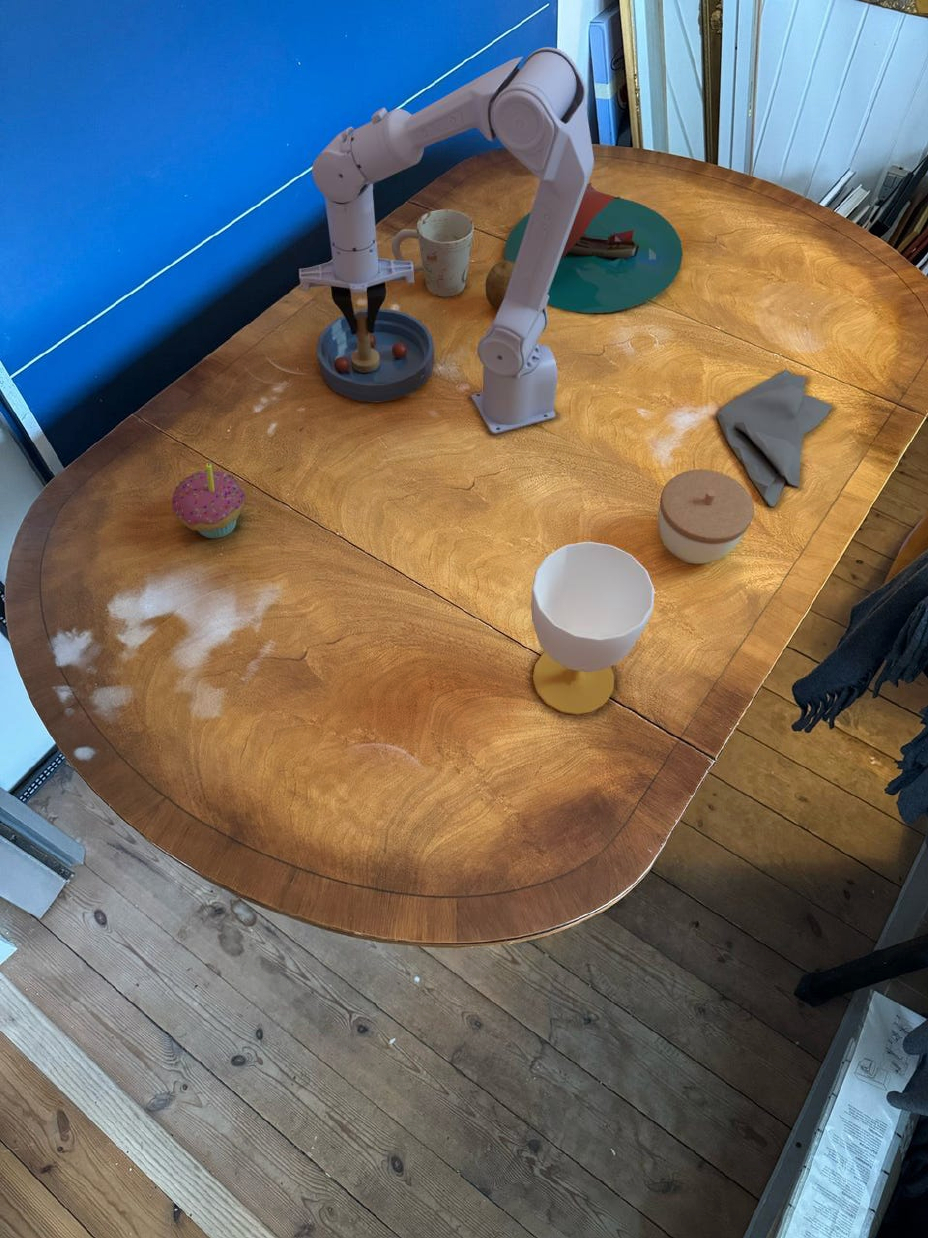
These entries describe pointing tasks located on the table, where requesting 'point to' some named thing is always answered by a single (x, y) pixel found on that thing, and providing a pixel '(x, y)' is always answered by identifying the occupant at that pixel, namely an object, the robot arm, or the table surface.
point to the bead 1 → (341, 365)
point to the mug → (441, 249)
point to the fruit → (498, 283)
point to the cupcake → (208, 502)
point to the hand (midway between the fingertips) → (362, 328)
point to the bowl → (392, 372)
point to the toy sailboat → (610, 255)
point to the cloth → (772, 430)
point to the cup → (586, 622)
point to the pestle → (364, 347)
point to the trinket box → (703, 515)
